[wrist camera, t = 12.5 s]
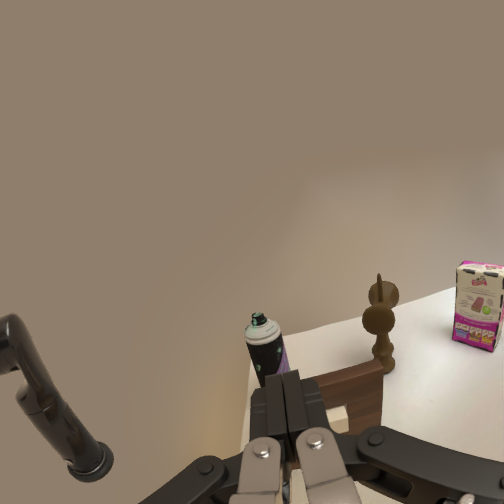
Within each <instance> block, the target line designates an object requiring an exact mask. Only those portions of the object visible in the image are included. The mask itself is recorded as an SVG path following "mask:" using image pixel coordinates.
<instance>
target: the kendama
mask: <svg viewBox="0 0 504 504" xmlns="http://www.w3.org/2000/svg"><path fill="white" fill-rule="evenodd" d="M398 300H399V292H398V289H397V287H396V286H395V285H394V284H393V283H391V282H387V281H382V280H381V275H380V274H379V273H378V275H377V283H375V284H374V285H372V286H371V288H370V290H369V301H370V304H371V305H372V306H371V307H369V308H367V309H366V310H365V312H364V313H363V317H362V323H363V326H364V328H365V329H366V331H367V332H369V333H371V334H374V335H377V339H376V343H375V345H374V346H373V348H372V353H373V355H374V359H377V358H378V359H379V361H380V362H381V364H382V366H383V367H384V373H388V372H390V371H392V370H393V369H394V366H395V360H394V359H393V357H392V352H393V350H394V346H393V344H392V343H391V342H390V340H389V336H388V332H390V331H391V330H392V328H393V327H394V324H395V317H394V313H393V311H392V310H391V309H392V308H393V307H395V306H396V304H397V303H398ZM374 359H373V360H374Z"/></svg>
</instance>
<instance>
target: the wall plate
mask: <svg viewBox="0 0 504 504" xmlns="http://www.w3.org/2000/svg"><path fill="white" fill-rule="evenodd" d="M383 375H384V367H383V366H382V364H381V362H380V361H379V359H378V358H377V359H374V360H371V361H368V362H365V363H362V364H358V365H355V366H352V367H348V368H345V369H341V370H338V371H334V372H330V373H326V374H323V375H319V376H314V377H312V378H313V379H314V380H315V381H316V382H317V383H318V384H319V388H320V391H321V395H322V398H323V402H324V406H325V409H329V408H333V407H336V406H340V405H344V407H345V410H346V413H347V416H348V427H349V431H347V432H343V433H340V434H342V435H360V434H361V433H362V432H363V431H364V430H365V429H367V428H369V427H373V426H381V416H382V401H383ZM310 378H311V377H310ZM306 379H307V378H306ZM295 456H296V454H295ZM299 468H301V465H300V462H298V461H297V457H296V463H291V470H293V469H299Z"/></svg>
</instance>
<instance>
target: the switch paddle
mask: <svg viewBox="0 0 504 504" xmlns="http://www.w3.org/2000/svg"><path fill="white" fill-rule="evenodd" d="M325 410H326V413H327V417H328V421H329V424H330V427H331V428H332V429H333V430H334V431H335V432H336V433H339V434H340V433H343V432H347V431H349V427H348V416H347V413H346V410H345V407H344V405H340V406H336V407H333V408H329V409H325Z"/></svg>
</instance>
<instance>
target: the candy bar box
mask: <svg viewBox="0 0 504 504" xmlns="http://www.w3.org/2000/svg"><path fill="white" fill-rule="evenodd" d="M503 319H504V266H501V265H495V264H487V263H480V262H472V261H463V262H462V264H461V265H460V266H459V267H458V268H457V269H456V300H455V315H454V325H453V334H452V340H455V341H458V342H461V343H465V344H468V345H471V346H474V347H478V348H481V349H485V350H488V351H491V352H493V351H494V349H495V347H496V345H497V343H498V341H499V339H500V335H501V330H502V324H503Z"/></svg>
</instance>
